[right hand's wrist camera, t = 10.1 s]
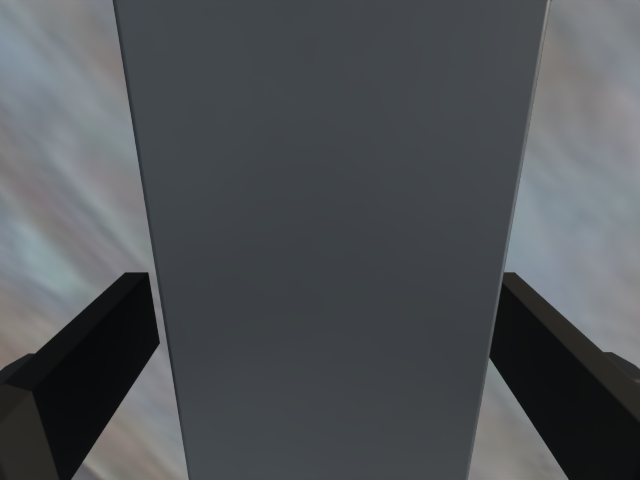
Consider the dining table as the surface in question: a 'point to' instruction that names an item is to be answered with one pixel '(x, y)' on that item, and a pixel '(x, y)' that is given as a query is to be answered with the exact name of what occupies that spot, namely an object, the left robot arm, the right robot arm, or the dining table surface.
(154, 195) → the bar
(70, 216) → the dining table surface
